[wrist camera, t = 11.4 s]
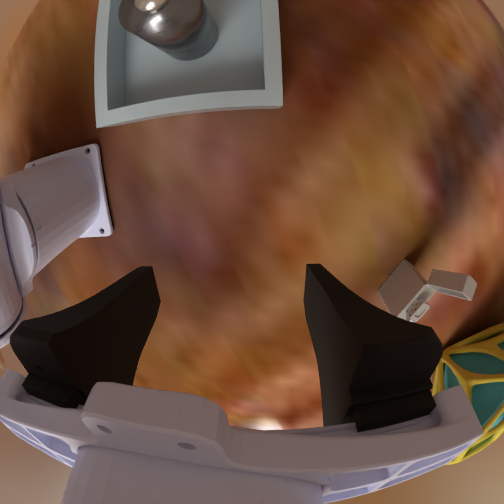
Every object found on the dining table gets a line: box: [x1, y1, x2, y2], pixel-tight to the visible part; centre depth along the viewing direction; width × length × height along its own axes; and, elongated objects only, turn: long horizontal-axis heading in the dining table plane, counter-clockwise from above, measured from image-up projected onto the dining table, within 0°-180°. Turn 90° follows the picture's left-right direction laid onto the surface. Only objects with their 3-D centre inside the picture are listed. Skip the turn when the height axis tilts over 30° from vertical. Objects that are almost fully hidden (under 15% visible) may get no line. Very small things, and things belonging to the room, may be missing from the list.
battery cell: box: [118, 0, 218, 61], centre depth 11 cm, size 4×4×8 cm
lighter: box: [378, 259, 477, 322], centre depth 19 cm, size 7×2×8 cm, turn 150°
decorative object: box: [432, 323, 504, 464], centre depth 23 cm, size 23×23×15 cm
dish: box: [94, 0, 283, 128], centre depth 13 cm, size 12×12×4 cm
